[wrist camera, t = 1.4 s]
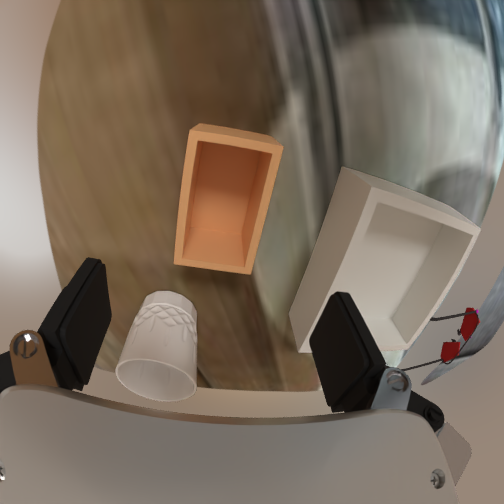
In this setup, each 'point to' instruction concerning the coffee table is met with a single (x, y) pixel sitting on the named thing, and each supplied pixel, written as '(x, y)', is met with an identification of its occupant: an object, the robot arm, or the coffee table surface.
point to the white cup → (161, 349)
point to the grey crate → (382, 259)
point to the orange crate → (224, 197)
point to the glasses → (452, 348)
